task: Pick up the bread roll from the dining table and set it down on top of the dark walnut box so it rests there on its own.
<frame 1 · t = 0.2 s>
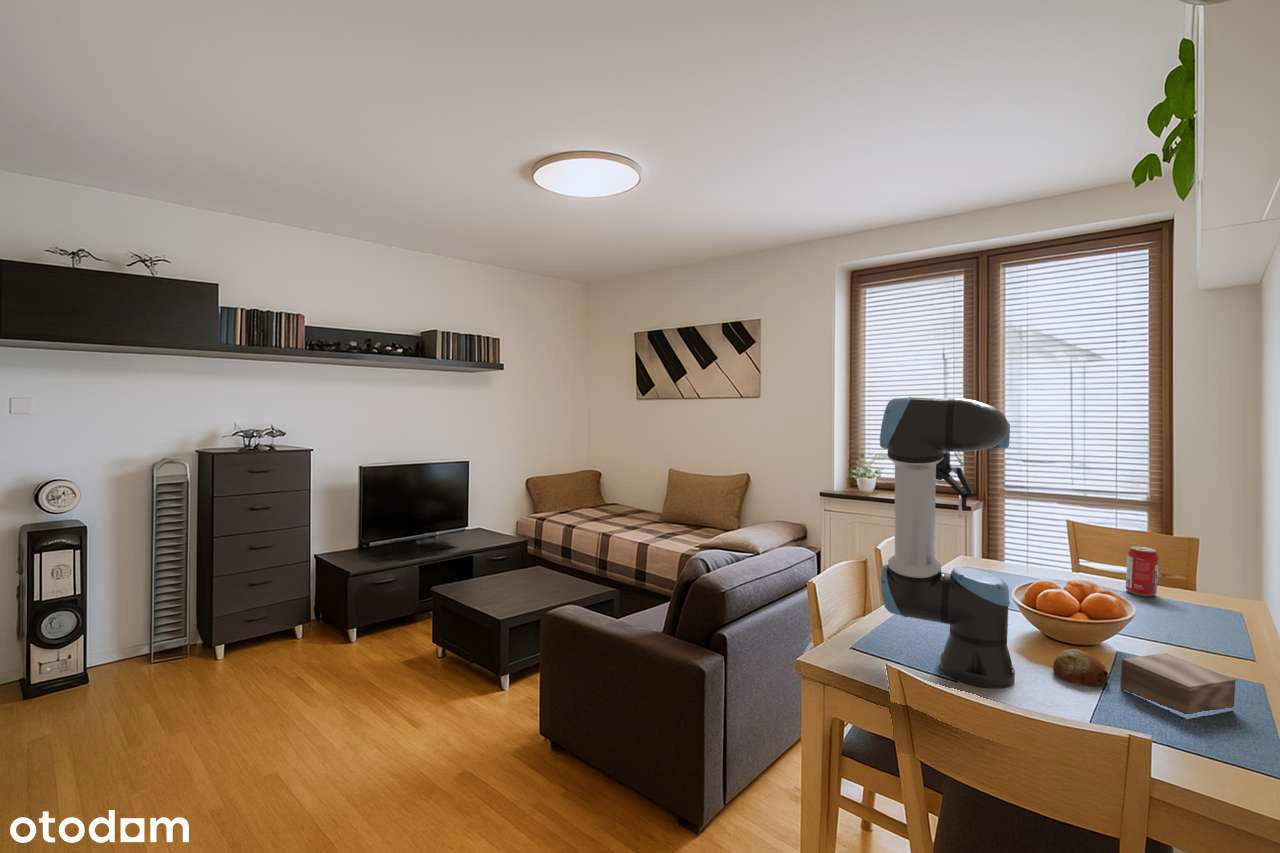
hand: (935, 513, 187), 28 cm above the table, tool tilted 20°, fingers open, 13 cm apart
walnut box: (1174, 701, 129), on the table
soda can: (1140, 594, 198), on the table
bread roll: (1079, 678, 139), on the table
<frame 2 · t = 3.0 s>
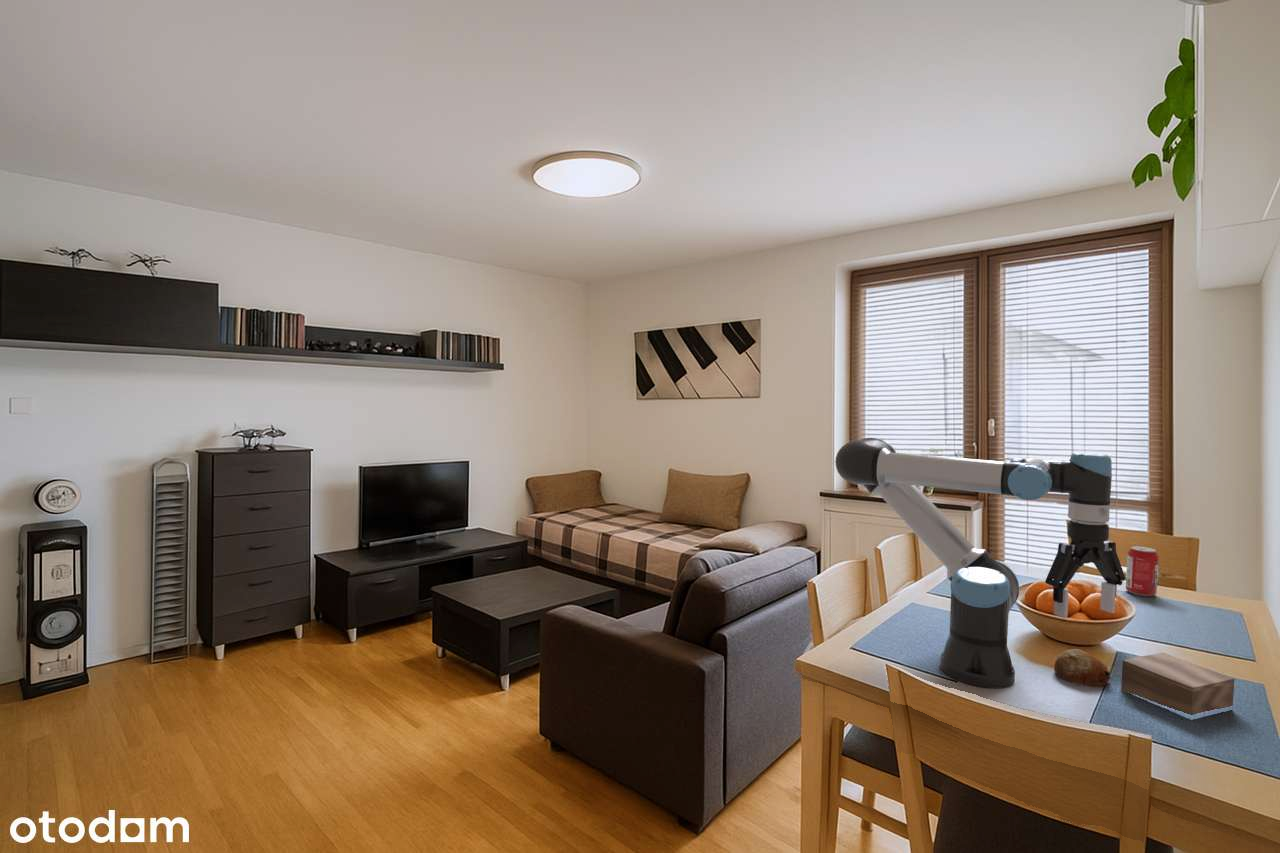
hand: (1084, 613, 138), 15 cm above the table, tool pointing down, fingers open, 13 cm apart
nothing on the table moved.
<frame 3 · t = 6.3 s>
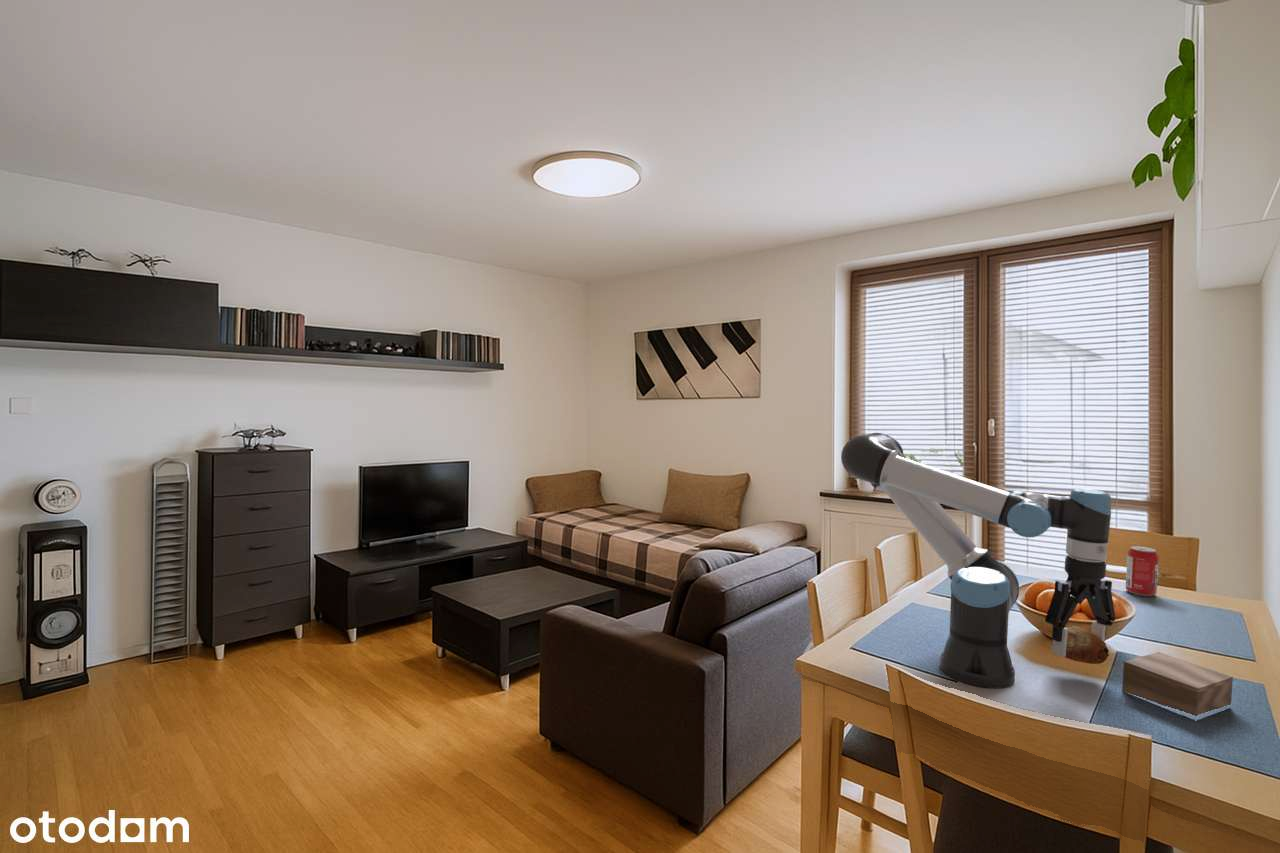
hand: (1077, 652, 139), 6 cm above the table, tool pointing down, fingers closed on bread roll, 10 cm apart
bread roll: (1079, 655, 139), point 5 cm above the table, touching gripper
everything else where it was.
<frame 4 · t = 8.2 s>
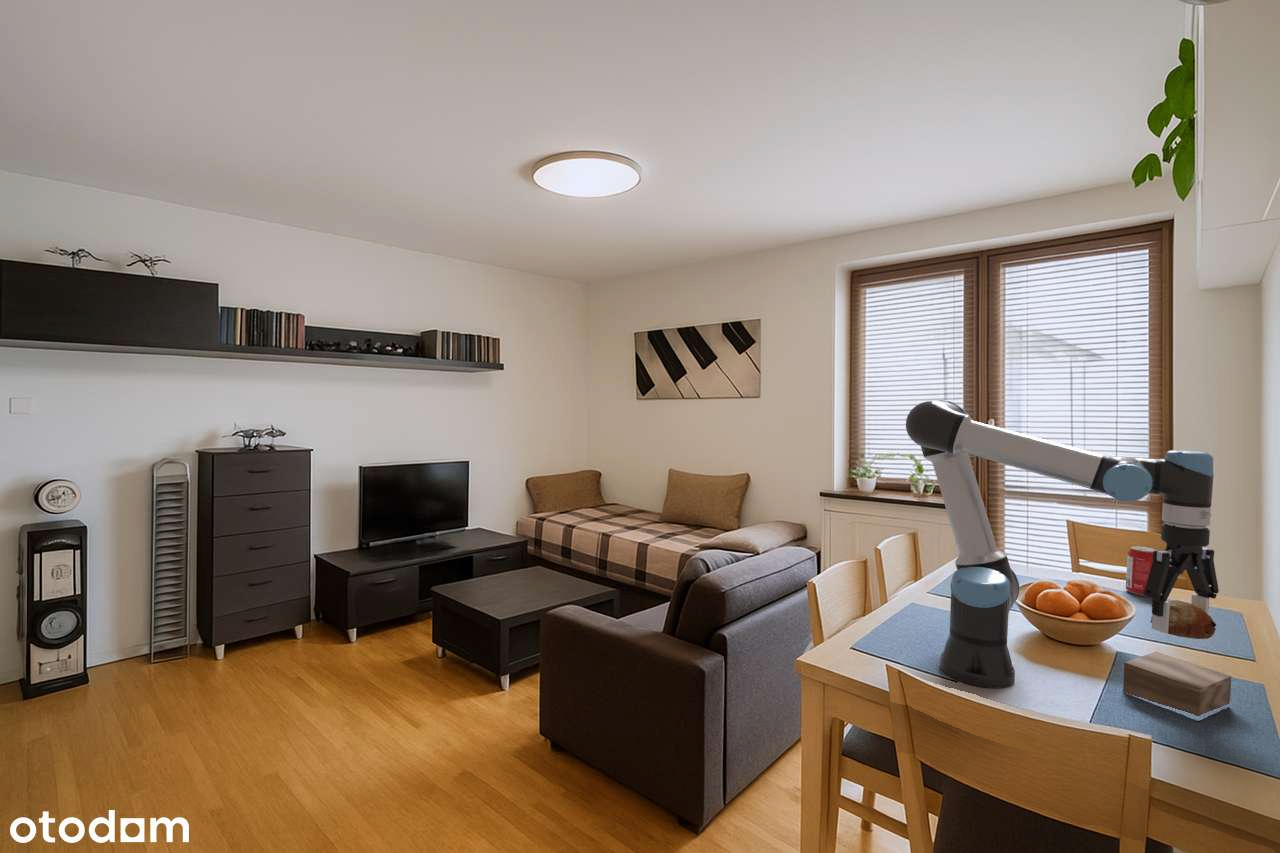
hand: (1179, 628, 128), 15 cm above the table, tool pointing down, fingers closed on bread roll, 10 cm apart
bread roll: (1182, 631, 127), point 15 cm above the table, touching gripper
everything else where it was.
when the fingers open (8 cm above the table, at t = 10.4 s): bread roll stays where it is, resting on walnut box.
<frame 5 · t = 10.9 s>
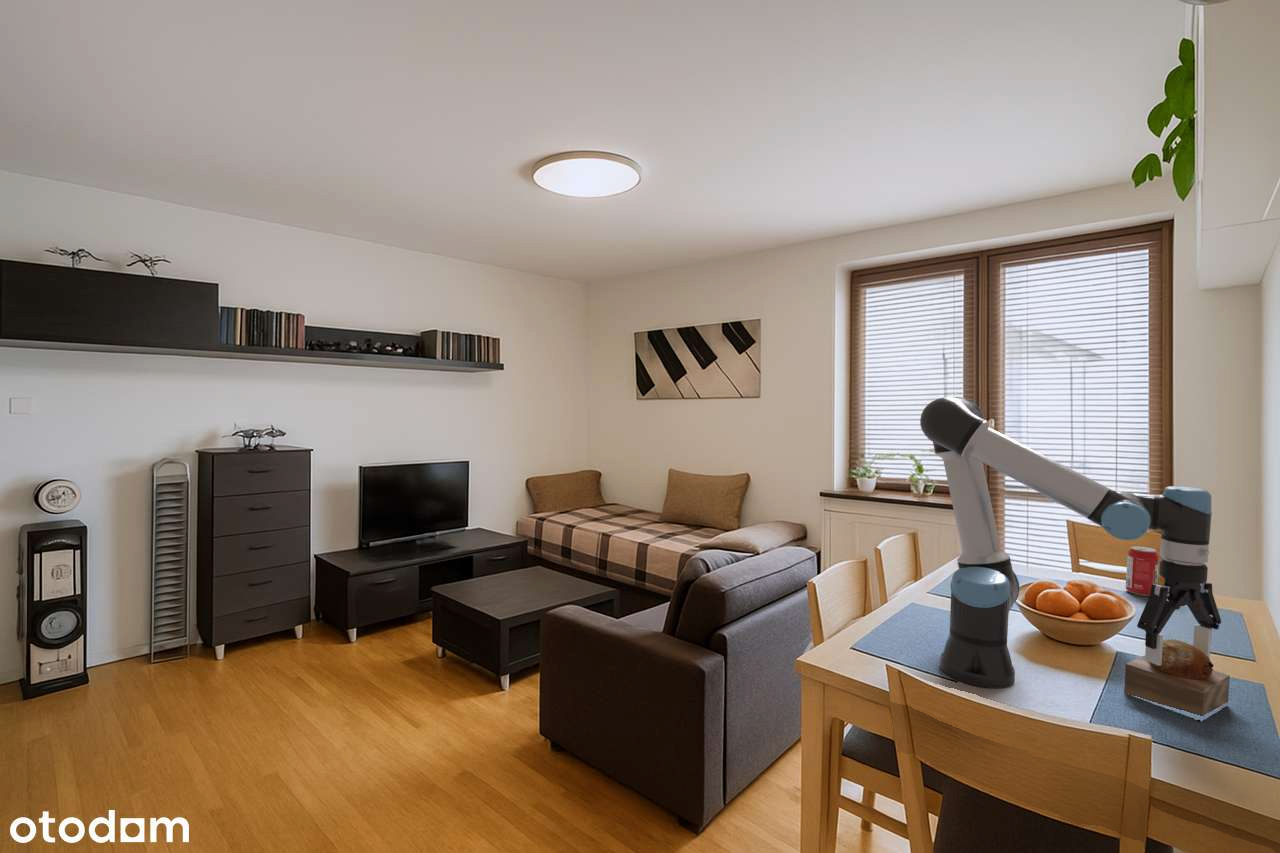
hand: (1177, 659, 128), 9 cm above the table, tool pointing down, fingers open, 13 cm apart
walnut box: (1174, 701, 129), on the table, touching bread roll
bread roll: (1179, 670, 128), point 6 cm above the table, touching walnut box
everything else where it was.
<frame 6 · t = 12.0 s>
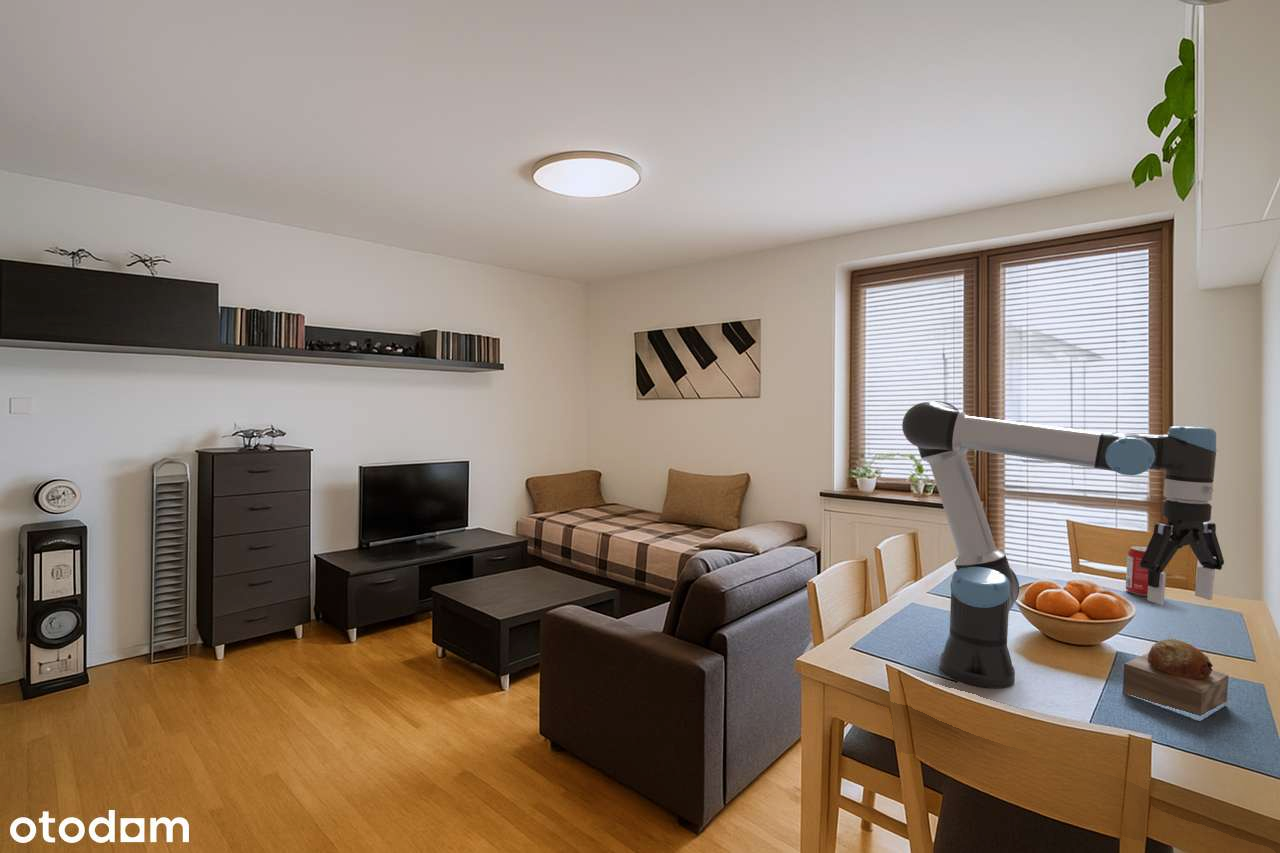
hand: (1179, 600, 128), 22 cm above the table, tool pointing down, fingers open, 13 cm apart
nothing on the table moved.
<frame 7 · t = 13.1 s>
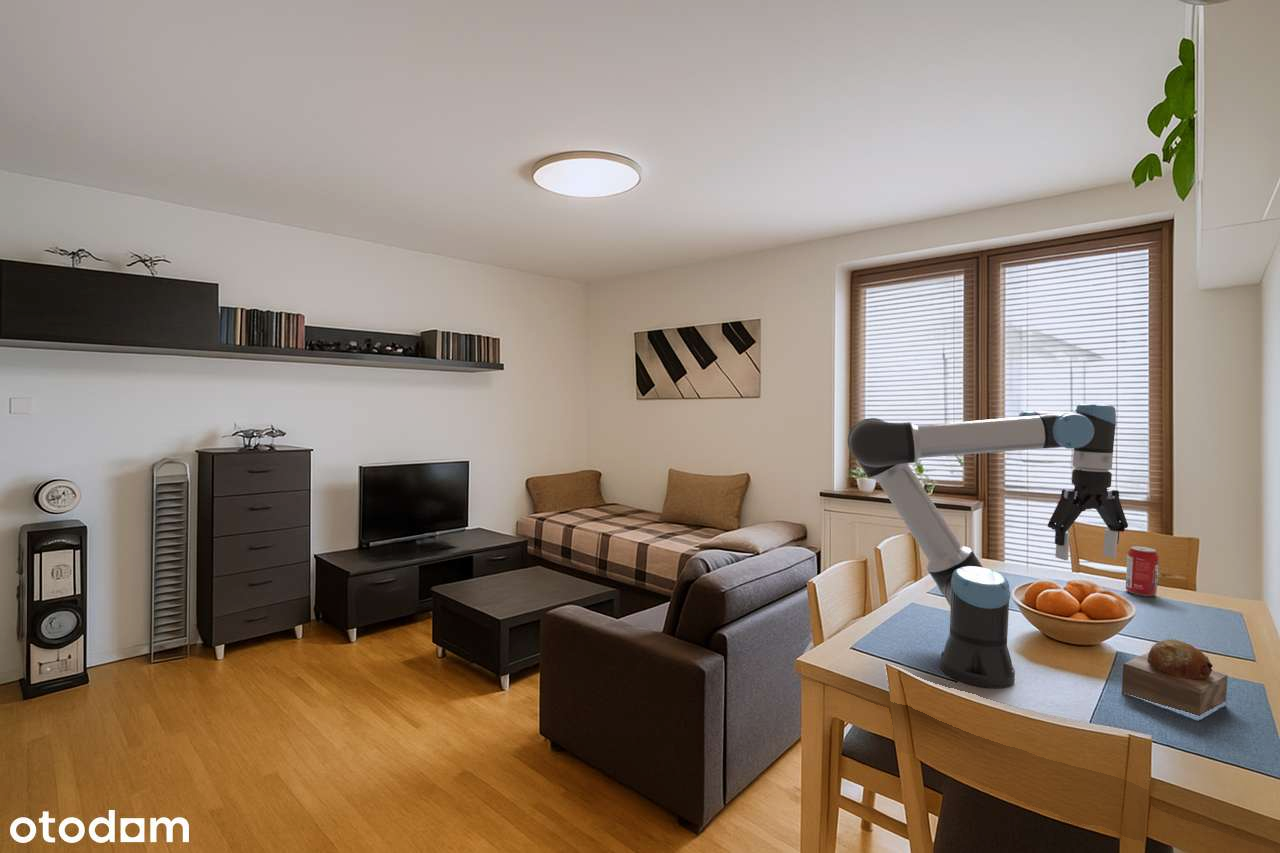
hand: (1085, 558, 144), 26 cm above the table, tool pointing down, fingers open, 13 cm apart
nothing on the table moved.
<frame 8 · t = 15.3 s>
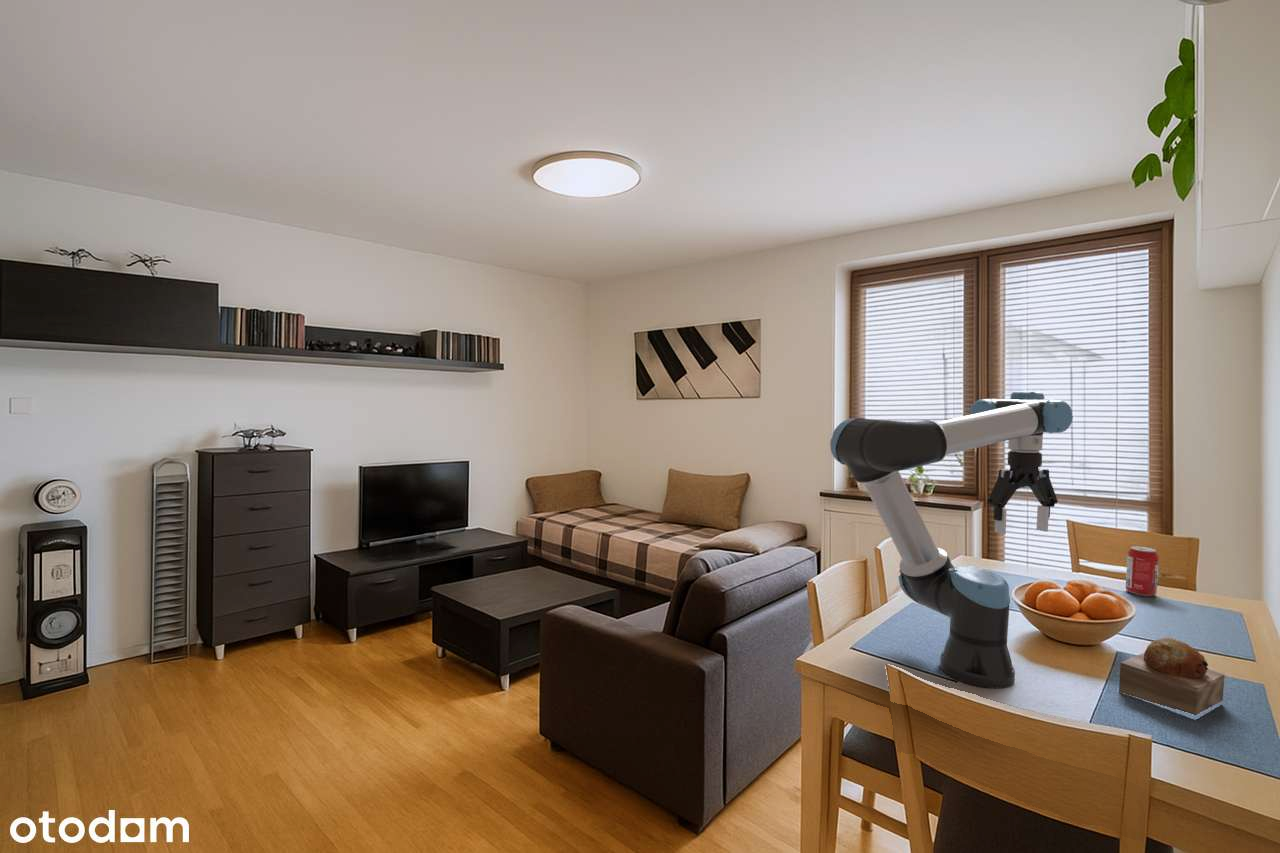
hand: (1021, 531, 158), 29 cm above the table, tool pointing down, fingers open, 13 cm apart
nothing on the table moved.
at the end: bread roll inside the target area on the walnut box (0.5 cm from its centre), point 6.8 cm above the walnut box's base; the gripper is holding nothing; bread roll touching walnut box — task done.
